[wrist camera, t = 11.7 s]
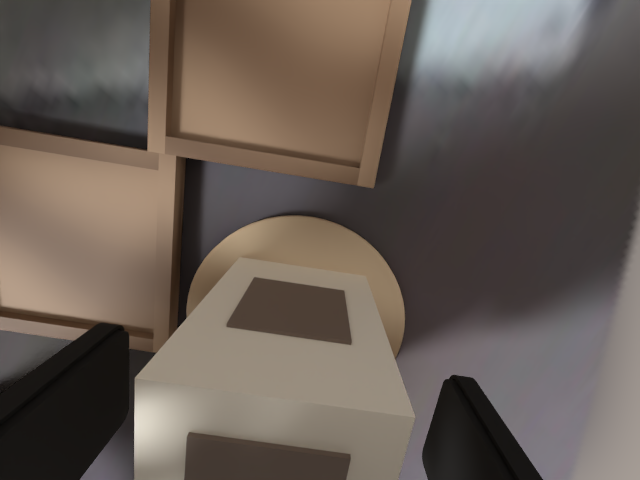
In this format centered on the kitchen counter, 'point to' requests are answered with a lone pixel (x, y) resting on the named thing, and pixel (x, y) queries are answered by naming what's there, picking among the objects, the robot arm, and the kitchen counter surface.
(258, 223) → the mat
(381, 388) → the white box with panels
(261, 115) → the tray
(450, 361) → the kitchen counter surface
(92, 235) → the tray
